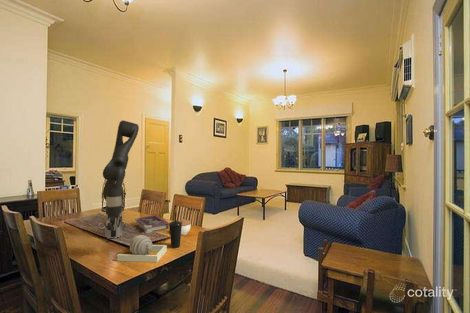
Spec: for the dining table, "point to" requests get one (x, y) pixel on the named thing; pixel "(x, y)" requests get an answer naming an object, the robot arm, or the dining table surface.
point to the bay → (144, 258)
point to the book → (151, 223)
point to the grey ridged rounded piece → (141, 245)
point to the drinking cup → (175, 233)
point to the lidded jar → (185, 226)
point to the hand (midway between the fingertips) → (113, 236)
